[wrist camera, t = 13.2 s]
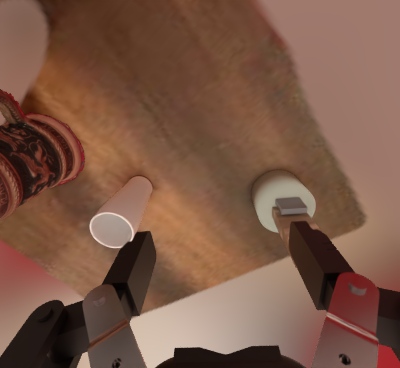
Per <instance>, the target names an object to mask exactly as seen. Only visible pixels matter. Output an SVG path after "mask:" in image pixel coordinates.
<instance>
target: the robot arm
mask: <svg viewBox="0 0 400 368" xmlns="http://www.w3.org/2000/svg"><path fill="white" fill-rule="evenodd" d="M289 251H290V254H291V256H292V258H293V260H294V262H295V265H296V267H297V269H298V271H299V273H300V275H301V277H302V279H303V281H304V284H305V286H306V288H307V290H308V292H309V294H310V296H311V298H312V300H313V302H314V305H315V307H316V309H317V310H326V311H327V314H326V318H325V320H324V324H323V327H322V331H321V334H320V338H319V341H318V344H317V348H316V351H315V355H314V358H313V362H312V365H311V368H377V358H378V344H381V345H385V346H388V347H391V348H392V350H393V351H394V353H395V355H396V356H397V358H398V359H399V361H400V292H397V291H392V290H387V289H382V288H379V287H377V286H376V285H375V284H374V283H373V282H372V281H371V280H369V279H368V278H366V277H364V276H362V275H360V274H357V273H355V272H354V271H353V269H352V268H351V267H350V266H349V264H348V263H347V261H346V260H345V259H344V257H343V256H342V255H341V254H340V252H339V251H338V250H337V248H336V247H335V246H334V245H333V244H332V242H331V241H330V239H329V238H328V237H327V235H325V234H324V233H322V232H321V231H320V230H318V229H312V228H311V227H310V225H309V224H308V222H307V221H292V222H291V223H290V232H289ZM155 262H156V250H155V246H154V242H153V239H152V235H151V232H150V231H144V232H136V234H135V236H134V238H133V240H132V241H128V242H127V243H126V244H125V245H124V246H123V247H122V248H121V249H120V251H119V253H118V255H117V257H116V259H115V260H114V263H113V264H112V266H111V268H110V270H109V272H108V274H107V276H106V277H105V279H104V281H103V283H102V285H100V286H98V287H96V288H94V289H93V290H91V291H90V292H89V293H88V294H87V295H86V297H85V298H84V300H83V301H80V302H77V303H74V304H71V305H68V306H64V305H63V303H62V302H61V301H59V300H53V301H49V302H46V303H45V304H43V305H41V306H39V307H38V308H37V309H36V310H35V311H33V313H32V314H31V315H30V316H29V318H28V319H27V320H26V322H25V323H24V324H23V326H22V327H21V329H20V330H19V331H18V333H17V334H16V336H15V337H14V338H13V340H12V341H11V343H10V344H9V346H8V347H7V348H6V350H5V351H4V353H3V354H2V355H1V357H0V368H77V365H78V363H79V360H80V358H81V356H82V353H85V352H87V351H88V356H89V361H90V367H91V368H147V367H146V365H145V362H144V359H143V357H142V354H141V352H140V349H139V347H138V344H137V342H136V339H135V337H134V334H133V332H132V329H131V327H130V324H129V323H130V320H131V317H132V316H140V313H141V310H142V306H143V303H144V299H145V296H146V293H147V289H148V286H149V282H150V279H151V276H152V272H153V269H154V266H155ZM156 368H306V367H305V366H303V365H302V364H300V363H298V362H297V361H295V360H293V359H291V358H289V357H286V356H283V355H281V354H280V350H279V347H278V346H251V347H248V348H245V349H242V350H240V351H236V352H233V353H231V354H226V355H225V354H221V353H217V352H214V351H210V350H207V349H203V348H200V347H197V348H175V350H174V357H173V358H170V359H168V360H166V361H164V362H162V363H161V364H159V365H158V366H157V367H156Z"/></svg>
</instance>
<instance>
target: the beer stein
mask: <svg viewBox="0 0 400 368" xmlns="http://www.w3.org/2000/svg"><path fill="white" fill-rule="evenodd" d="M0 111H1V112H2V114H3V116H4V117H5V118H6V120H7V121H9V122H8V123H5V124H3V125H1V126H0V219H3V218H6V217H8V216H10V215H11V214H12V213H13V212H14V211H15V210H16V208H17V207H19V206H20V205H22V204H24V203H25V202H27V201H29V200H31V199H32V198H34V197H35V196H37V195H38V194H40V193H41V192H42V191H43V190H45V189H48V188H52V187H54V186H56V185H61V184H64V183H66V182H67V181H69V180H73V179H75V178H76V177H77V176H78V174H79V172H80V171H82V169H83V166H84V162H85V161H84V159H85V158H84V154H83V153H84V151H83V148H82V146H81V143H80V142H79V140H78V139H77V138H76V136H75V135H74V134H73V132H72V131H71V130H70V128H69V127H68V126H67V124H64V123H62V122H61V121H59V120H56V119H54V118H52V117H50V116H47V115H39V114H36V113H31V112H29V113H28V115H24V114H23V112H22V110H21V109H20V107H19V103H18V102H17V101H15V100H14V97H13V96H12V95H11V94H8V93H7V92H4V91H2V90H1V89H0Z"/></svg>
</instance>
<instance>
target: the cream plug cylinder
mask: <svg viewBox="0 0 400 368" xmlns="http://www.w3.org/2000/svg"><path fill="white" fill-rule="evenodd" d="M251 198H252V201H253V204H254V206H255V209H256V212H257V214H258V217H259V220H260V222H261V223H262V225H263V226H264V227H266V228H267V229H269V230H271V231H273V232H278V233H279V231H278V228H277V226H276V224H275V222H274V220H273V218H272V207H275V206H277V208H278V209H279V211H280V213H281V215H285V214H299V213H308V214H309V216H310V217H311V218H312V216H313V215H314V212H315V206H316V205H315V199H314V197H313V196H312V194H311V193H310V192H309V191H308V190H307V189H306V187H305V186H304V185H303V184H302V183H301V182H300V181H299V180H298V179H297V178H296V177H295V176H294V175H293V174H292V173H290V172H288V171H284V170H273V171H269V172H267V173H265V174H263V175H262V176H260V177H259V178H258V179H257V180H256V182H255V183H254V185H253V187H252V190H251ZM279 234H280V233H279Z"/></svg>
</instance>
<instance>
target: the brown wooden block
mask: <svg viewBox="0 0 400 368" xmlns="http://www.w3.org/2000/svg"><path fill="white" fill-rule="evenodd" d="M272 218H273V220H274V222H275V224H276V226H277V228H278V231H279V233H280V235H281V237H282V239H283V241H284V243H285V246H286V248H287V250H288V252H289V254H290V251H289V232H290V223H291V222H292V221H307V222H308V224H309V225H310V227H311V228H312V229H318V230H320V229H319V228H318V226H317V225H316V224H315V222H314V221H313V220H312V218H311V217H310V216H309V214H308V213H299V214H285V215H281V213H280V211H279V209H278V208H277V206H275V207H272ZM320 231H321V230H320ZM290 256H291V254H290ZM291 258H292V256H291ZM292 260H293V258H292ZM293 262H294V260H293ZM294 264H295V262H294ZM295 267H296V265H295ZM296 268H297V267H296Z"/></svg>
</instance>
